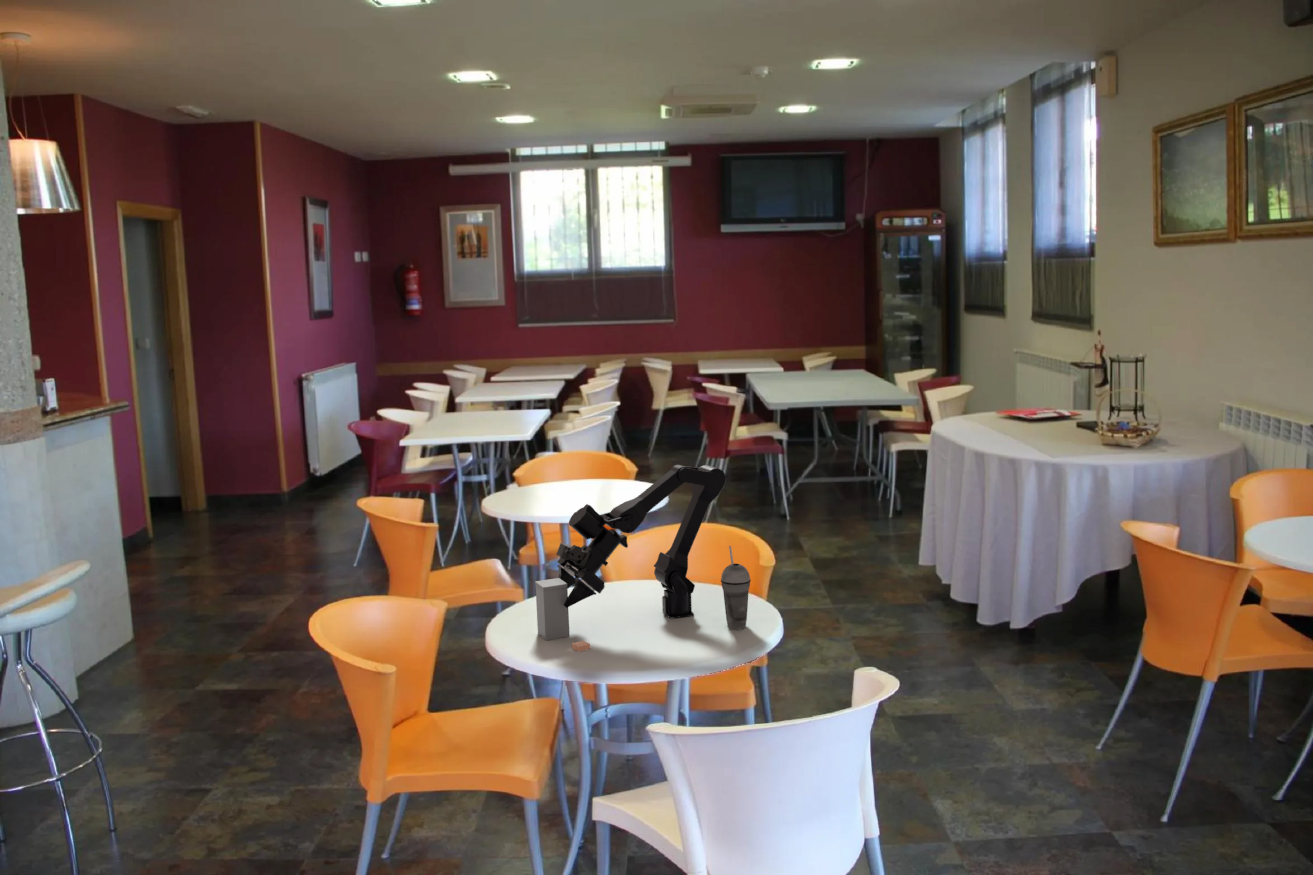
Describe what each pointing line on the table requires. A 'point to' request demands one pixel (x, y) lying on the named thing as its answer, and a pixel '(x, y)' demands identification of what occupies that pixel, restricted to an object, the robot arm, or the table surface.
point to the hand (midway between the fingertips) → (558, 601)
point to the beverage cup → (735, 594)
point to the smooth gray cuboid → (552, 609)
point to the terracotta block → (580, 645)
